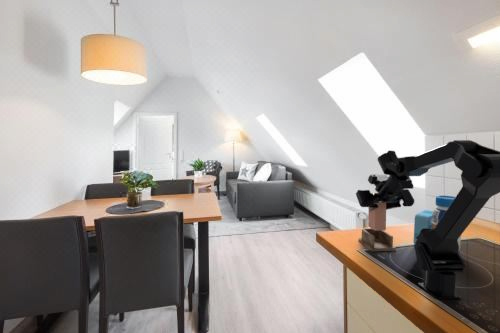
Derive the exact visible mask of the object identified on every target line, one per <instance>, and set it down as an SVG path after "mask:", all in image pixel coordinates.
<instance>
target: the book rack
mask: <svg viewBox="0 0 500 333" xmlns="http://www.w3.org/2000/svg"><path fill="white" fill-rule="evenodd" d="M358 242H360V243H361V244H362V245H363V246H364V247H366V248H367V249H368V250H369V249H370V251H371V252H388V251H389V252H390V251H391V252H394V251H396V252H397V247H395V246H394V236H393V235H391V233H388V232H386V230H379V231H375V230H373V229H372V228H370V227H368V228H365V227H364V228H362V229H361V237H359V238H358Z"/></svg>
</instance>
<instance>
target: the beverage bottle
mask: <svg viewBox="0 0 500 333" xmlns="http://www.w3.org/2000/svg"><path fill="white" fill-rule="evenodd" d="M455 197H456V196H454V195H453V196H452V195H436V196H435V206H436V208H435V209H434V210H433V211H434V212H433V214H432V216H433V219H432V222H431V224H432V228H435V227H436V226H437V224H438V223H439V221H440V220H441V218H442V217H443V215H444V214H445V212H446V211H447V209H448V208H449V206H450V205H451V203H452V202H453V200H454V199H455ZM458 244H459V250H458V253H459V255H460V256H461V244H462V235H461V236H460V237H459V238H458Z"/></svg>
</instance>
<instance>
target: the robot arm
mask: <svg viewBox="0 0 500 333" xmlns="http://www.w3.org/2000/svg"><path fill="white" fill-rule="evenodd" d="M377 162H378V164H379V166H380V168H381V170H382V173H374V174H372V173H371V174H370V175H369V176H368V178H367V181H368V182H369V184H370V185H373V186H375V188H374V190H375V192H371V191H370V190H369V189H358V190H357V191H356V193H355V196H356V199H357V201H358V204H359V206H360V207H361V208H368V211H372V210H374V209H376V208H378V205H377V204H378V203H379V202H382V203H386V211H387V210H391V209H392V210H393V209H397V208H401V207H402V206H403V207H412V206H413V205H414V204H415V198H414V197H413V195H412V193H411V191H410V189H414V183H413V180H412V179H411V177H420V176H423V175H425V174H426V173H428V172H429V170H430V169H431V168H436V167H438V166H441V165H445V164H449V163H452V162H453V163H454V166H455V167H456V168H457V169H459V171H461V174H460V178H461V184H462V187H461V189H460V190H458V191H459V192H458V193H457V195H456V196H454V197H455V199H454V200H453V202H452V203H451V205H450V206H449V208H448V209H447V211H446V212H445V214H444V215H443V217H442V218H441V220H440V221H439V223H438V224H437V226H436V227H435V228H423V229H422V230H421V231H420V234H419V235H418V237H416V239H417V241H416V243H415V244H414V250H415V256H416V261H417V265H418V266H419V267H420V269H421V270H422V271H423V282H418V286H419V287H420V288H422V289H423V290H424V291H425V292H427V293H428V295H430V296H432V297H433V298H434V299H436V300H443V299H445V300H446V299H447V300H449V299H461V298H462V296H461V295H460V294H459V293H457V292H456V280H457V279H456V278H457V276H456V275H457V274H456V273H464V272H465V270H466V268H467V266H466V264H465V261H464V260H463V259H462V257H461V254H460V255H459V253H458V250H459V244H458V238H459V237H460V236H461V237H462V235H463V233H464V232H465V230H466V229H467V228H468V226H470V224H471V223H472V221H473V220H474V219H475V218H476V216H478V215H479V213H480V211H481V210H482V209H483V208H484V207H485V205H486V204H487V203H488V201H489V200H490V199H491V198H492V197H493V196H496V195H498V194H500V151H499V150H496V149H494V148H490V147H487V146H485V145H481V144H479V143H478V142H476V141H473V140H470V139H460V140H459V139H455V140H451V141H448V142H447V143H446V144H443V145H440V146H438V147H436V148H433V149H431V150H428V151H426V152H423V153H419V154H418V155H411V156H401V157H398V155H397V153H396V151H395V150H388V151H387V152H385V153H383V154H381V155H379V156H378V157H377ZM373 193H374V195H373ZM401 201H402V205H401Z"/></svg>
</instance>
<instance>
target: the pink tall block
mask: <svg viewBox="0 0 500 333" xmlns="http://www.w3.org/2000/svg"><path fill="white" fill-rule="evenodd" d="M372 193H373V195H374V193H375V192H372ZM377 205H378V208H376V209H374V210H372V211H369V210H368V216H367V217H368V220H367V224H368V228H372V229H373V230H375V231H379V230H384V231H387V227H386V226H387V210H386V203H382V202H379V203H378V204H377Z"/></svg>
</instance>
